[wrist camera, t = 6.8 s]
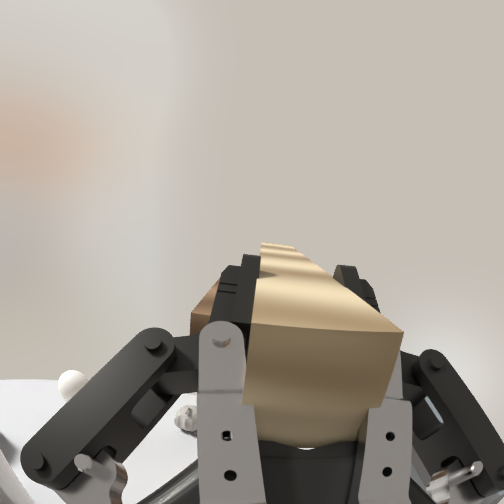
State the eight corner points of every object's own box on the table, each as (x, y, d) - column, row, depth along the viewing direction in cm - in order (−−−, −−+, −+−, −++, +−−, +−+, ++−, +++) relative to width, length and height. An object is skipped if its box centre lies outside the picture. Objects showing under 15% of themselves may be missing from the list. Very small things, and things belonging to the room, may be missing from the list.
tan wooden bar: (364, 445, 5) (404, 332, 5) (237, 443, 6) (251, 322, 5) (287, 274, 31) (290, 245, 31) (258, 271, 31) (261, 242, 31)
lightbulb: (78, 407, 41) (69, 360, 40) (103, 418, 40) (94, 370, 39) (61, 422, 35) (48, 373, 34) (86, 436, 34) (74, 386, 33)
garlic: (187, 440, 40) (186, 420, 40) (168, 425, 44) (167, 404, 43) (212, 428, 45) (213, 408, 44) (193, 414, 48) (193, 394, 48)
